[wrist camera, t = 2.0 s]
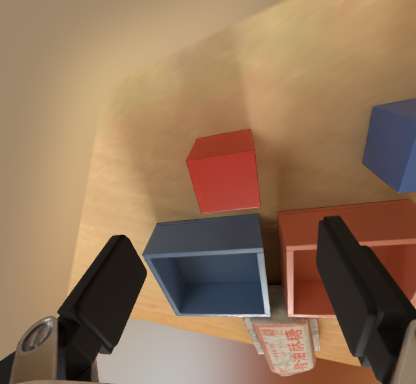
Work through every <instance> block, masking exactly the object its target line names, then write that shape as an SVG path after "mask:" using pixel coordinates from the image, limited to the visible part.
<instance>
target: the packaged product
mask: <svg viewBox="0 0 416 384" xmlns="http://www.w3.org/2000/svg"><path fill="white" fill-rule="evenodd" d="M268 295H269V304H270V313H271V317H243V320H244V322H245V325H246V327H247V328H248V331H249V334H250V336H251V338H252V340H253V343H254V345H255V347H256V350H257V351H258V354H264V355H265V357H266V360H267V362H268V363H269V365H270V368H271V370H272V372H276V373H278V374H280V375H281V376H285V375H286V376H290V375H292V374H296V373H301V372H304V371H308V370H310V369H312V368H314V366H315V363H316V358H315V354H314V350H315V351H319V352H320V348H319V347H320V345H319V334H318V322H317V317H288V315H287V310H286V305H285V300H284V295H283V290H282V285H268Z"/></svg>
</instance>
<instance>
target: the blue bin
mask: <svg viewBox="0 0 416 384" xmlns="http://www.w3.org/2000/svg"><path fill="white" fill-rule="evenodd" d="M142 256H143V257H144V259H145V261H146V263H147V264H148V266H149V268H150V270H151V272H152V273H153V275H154V277H155V279H156V280H157V282H158V284H159V286H160V287H161V289H162V291H163V293H164V294H165V296H166V298H167V300H168V302H169V303H170V305H171V307H172V309H173V310H174V312H175V314H176V316H228V317H271V313H270V304H269V295H268V286H267V277H266V268H265V259H264V250H263V243H262V236H261V229H260V222H259V215H258V214H249V215H239V216H228V217H218V218H207V219H197V220H186V221H176V222H165V223H157V225H156V227H155V229H154V231H153V233H152V235H151V237H150V239H149V241H148V244H147V246H146V248H145V250H144V252H143V254H142Z"/></svg>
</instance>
